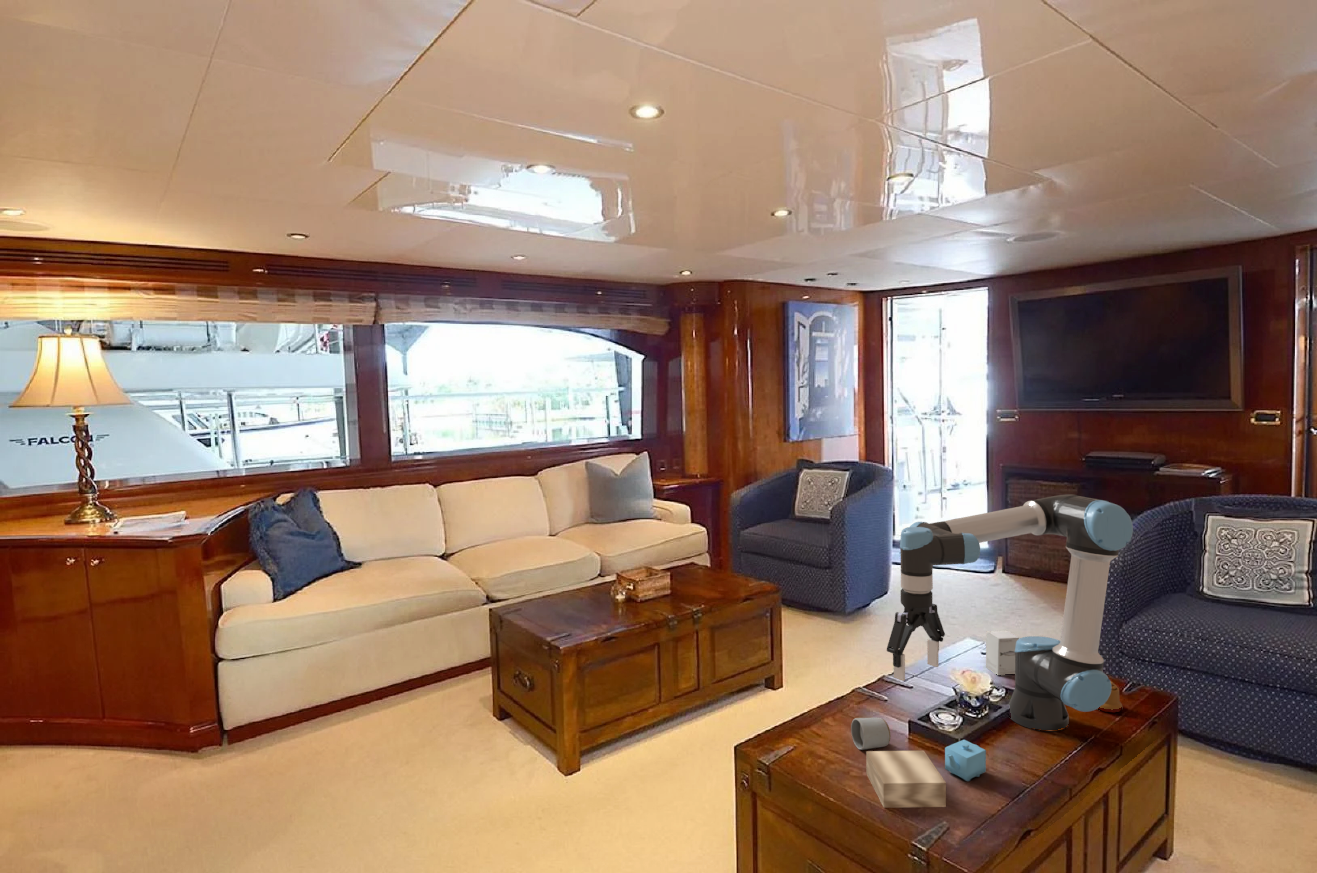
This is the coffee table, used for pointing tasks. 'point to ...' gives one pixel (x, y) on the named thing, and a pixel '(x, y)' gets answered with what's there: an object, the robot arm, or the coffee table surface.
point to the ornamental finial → (1112, 699)
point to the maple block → (905, 779)
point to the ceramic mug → (870, 733)
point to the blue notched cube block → (965, 760)
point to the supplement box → (1000, 652)
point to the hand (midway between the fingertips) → (916, 672)
